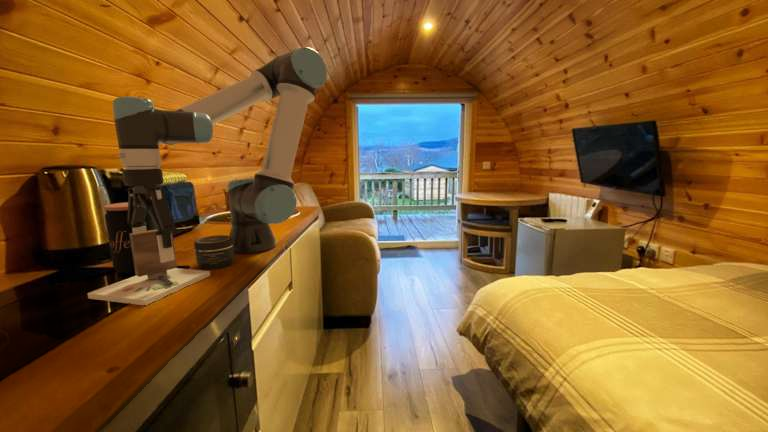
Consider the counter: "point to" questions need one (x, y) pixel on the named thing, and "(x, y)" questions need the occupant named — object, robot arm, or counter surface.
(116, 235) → the coffee jar
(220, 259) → the jar
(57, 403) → the counter surface
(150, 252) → the brown upright panel
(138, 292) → the plate
